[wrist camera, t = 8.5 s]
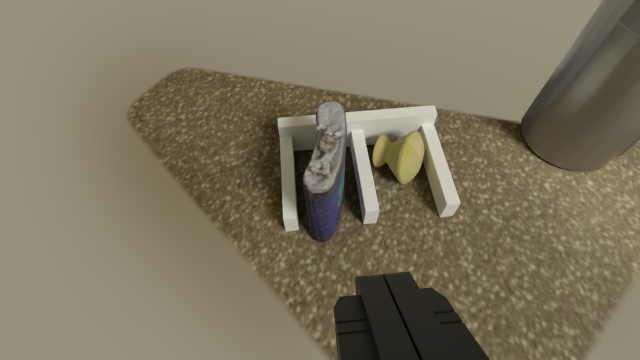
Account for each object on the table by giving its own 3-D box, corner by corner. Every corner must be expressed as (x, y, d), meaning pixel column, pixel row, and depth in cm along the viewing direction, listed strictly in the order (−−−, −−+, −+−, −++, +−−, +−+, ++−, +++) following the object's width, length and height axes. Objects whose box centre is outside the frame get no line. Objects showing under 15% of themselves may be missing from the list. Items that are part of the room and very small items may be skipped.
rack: (425, 131, 39) (434, 105, 36) (452, 216, 34) (466, 194, 30) (282, 143, 38) (277, 117, 35) (285, 231, 33) (281, 211, 30)
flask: (320, 159, 37) (318, 81, 28) (348, 162, 37) (355, 84, 28) (305, 242, 33) (297, 180, 23) (337, 246, 32) (342, 185, 23)
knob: (426, 158, 37) (438, 127, 33) (406, 196, 35) (417, 168, 31) (384, 141, 38) (391, 108, 34) (362, 176, 36) (367, 146, 32)
